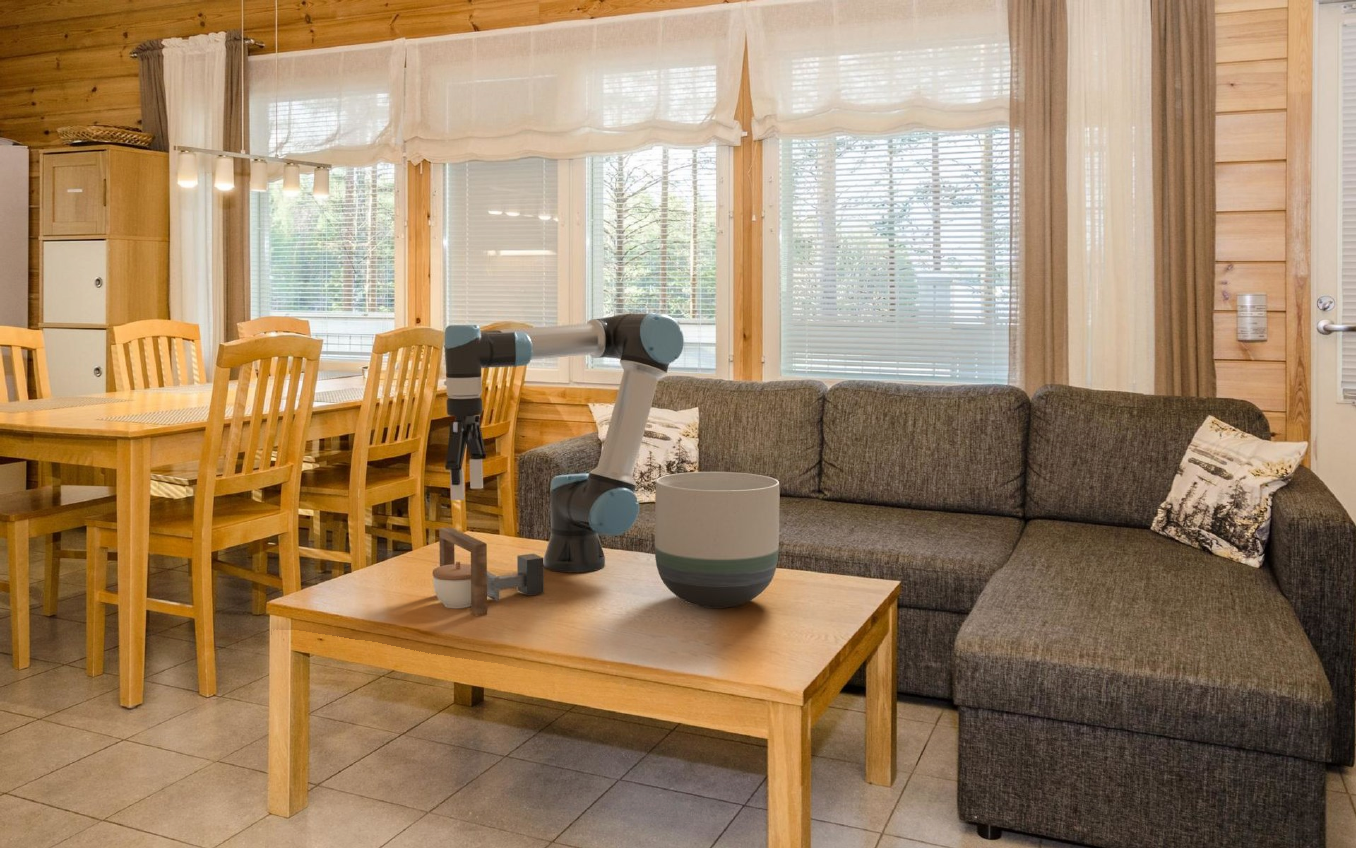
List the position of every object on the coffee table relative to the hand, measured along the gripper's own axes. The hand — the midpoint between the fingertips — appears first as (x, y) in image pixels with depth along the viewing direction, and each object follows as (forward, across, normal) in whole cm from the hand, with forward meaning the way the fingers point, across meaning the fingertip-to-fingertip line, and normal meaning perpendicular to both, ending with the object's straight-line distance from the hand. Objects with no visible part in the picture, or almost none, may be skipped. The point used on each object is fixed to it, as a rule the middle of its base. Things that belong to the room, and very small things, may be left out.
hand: (467, 494), depth 236 cm
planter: (+24, -4, +54) cm, 59 cm away
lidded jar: (+23, +5, -1) cm, 24 cm away
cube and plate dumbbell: (+23, -3, +9) cm, 25 cm away
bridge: (+23, +5, 0) cm, 24 cm away
